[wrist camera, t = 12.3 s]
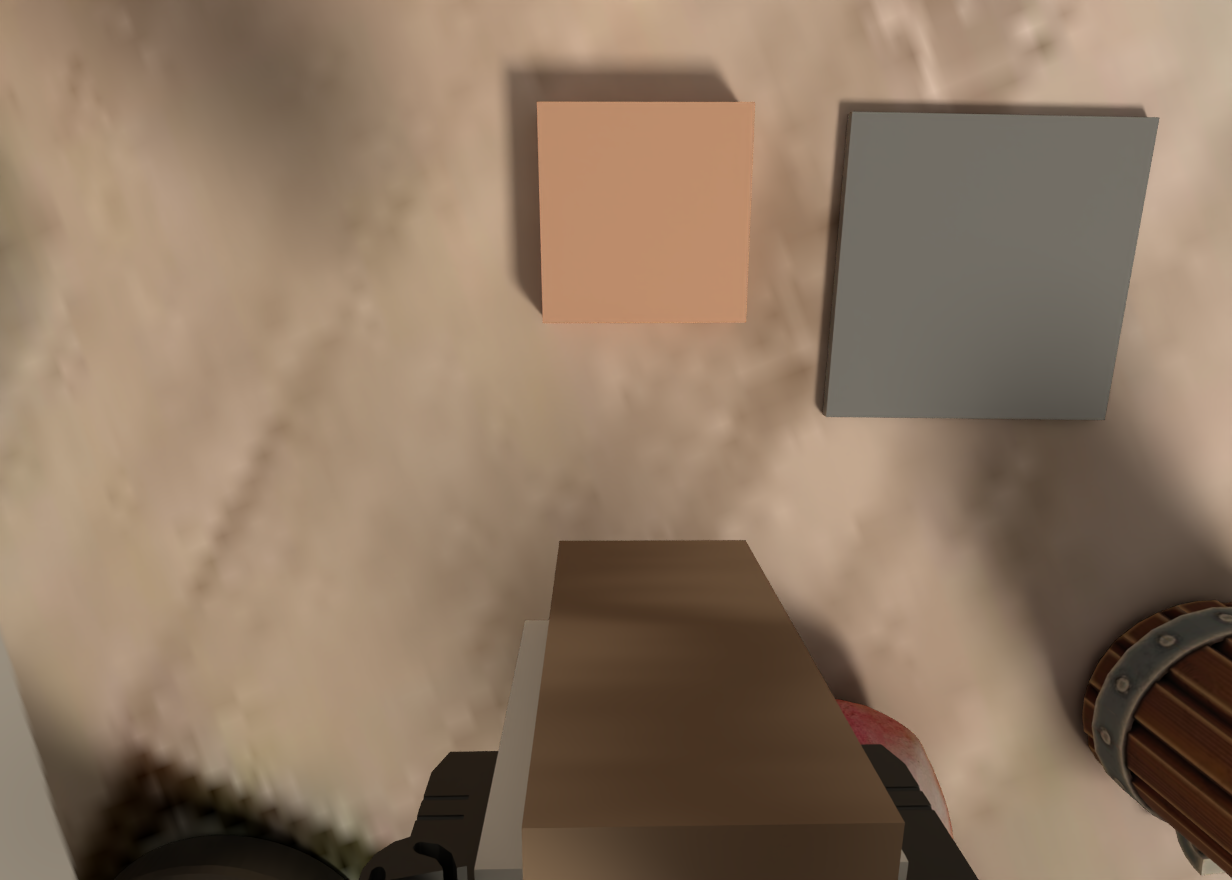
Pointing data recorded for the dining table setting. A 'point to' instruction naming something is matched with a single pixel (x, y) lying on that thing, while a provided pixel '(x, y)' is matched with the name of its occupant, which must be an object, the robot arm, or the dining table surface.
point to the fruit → (898, 750)
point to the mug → (1171, 724)
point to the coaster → (983, 263)
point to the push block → (692, 730)
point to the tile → (645, 211)
